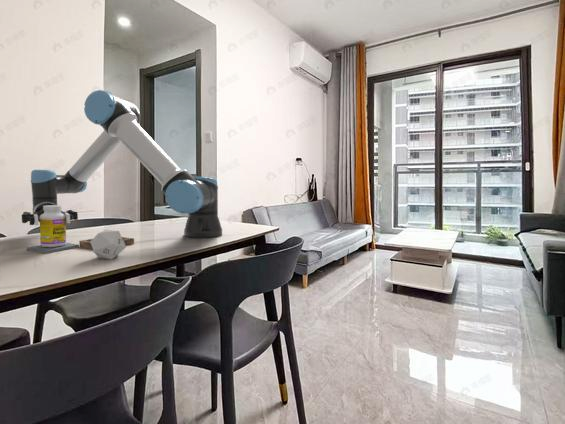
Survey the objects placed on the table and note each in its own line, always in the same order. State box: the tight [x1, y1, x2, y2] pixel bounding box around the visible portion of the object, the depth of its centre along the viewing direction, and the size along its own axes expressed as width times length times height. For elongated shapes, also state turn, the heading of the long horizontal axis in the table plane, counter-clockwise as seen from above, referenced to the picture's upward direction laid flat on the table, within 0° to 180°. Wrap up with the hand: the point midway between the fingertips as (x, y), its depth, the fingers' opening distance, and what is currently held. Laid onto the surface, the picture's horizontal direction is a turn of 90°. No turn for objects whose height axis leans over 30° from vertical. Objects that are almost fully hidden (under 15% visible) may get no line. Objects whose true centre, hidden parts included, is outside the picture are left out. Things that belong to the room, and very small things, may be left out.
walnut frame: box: [78, 236, 135, 250], centre depth 105 cm, size 12×12×2 cm
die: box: [90, 229, 127, 260], centre depth 89 cm, size 8×9×10 cm
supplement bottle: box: [39, 204, 67, 247], centre depth 99 cm, size 7×7×13 cm
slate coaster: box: [26, 242, 80, 254], centre depth 99 cm, size 10×10×1 cm
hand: (53, 219), depth 95 cm, fingers open, 7 cm apart
